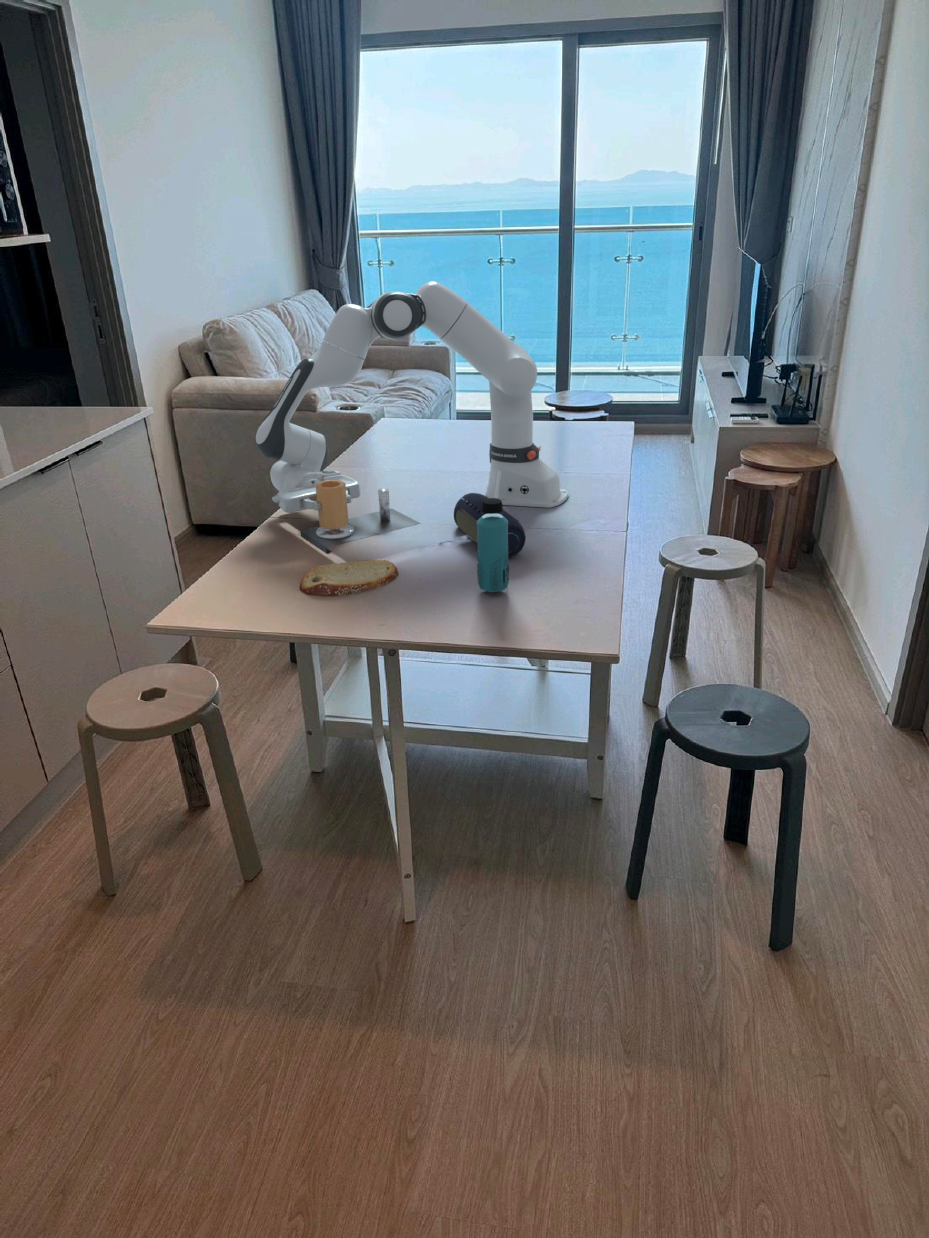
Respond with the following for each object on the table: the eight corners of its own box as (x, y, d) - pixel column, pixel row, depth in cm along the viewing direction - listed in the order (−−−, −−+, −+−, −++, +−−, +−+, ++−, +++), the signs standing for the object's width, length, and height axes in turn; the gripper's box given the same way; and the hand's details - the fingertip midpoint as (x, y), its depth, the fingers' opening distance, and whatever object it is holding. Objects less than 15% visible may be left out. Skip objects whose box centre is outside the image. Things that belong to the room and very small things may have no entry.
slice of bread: (404, 571, 184) (403, 555, 182) (370, 605, 169) (368, 588, 167) (332, 561, 189) (330, 546, 187) (292, 594, 174) (290, 577, 172)
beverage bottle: (506, 599, 169) (506, 506, 160) (474, 597, 170) (472, 504, 161) (511, 586, 174) (511, 495, 165) (480, 584, 176) (479, 494, 166)
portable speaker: (448, 530, 205) (447, 491, 200) (486, 524, 208) (485, 486, 203) (489, 567, 184) (489, 524, 179) (529, 559, 187) (530, 518, 183)
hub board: (392, 513, 216) (389, 474, 211) (420, 529, 206) (419, 487, 201) (300, 536, 203) (295, 494, 198) (326, 553, 192) (322, 510, 188)
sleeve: (339, 517, 203) (336, 478, 198) (352, 525, 198) (349, 484, 194) (316, 523, 200) (311, 483, 195) (328, 531, 195) (324, 490, 190)
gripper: (267, 485, 199) (291, 499, 189) (343, 469, 210) (370, 482, 199) (270, 509, 202) (294, 525, 192) (345, 493, 212) (372, 507, 202)
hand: (333, 503), depth 196 cm, fingers closed on sleeve, 6 cm apart
